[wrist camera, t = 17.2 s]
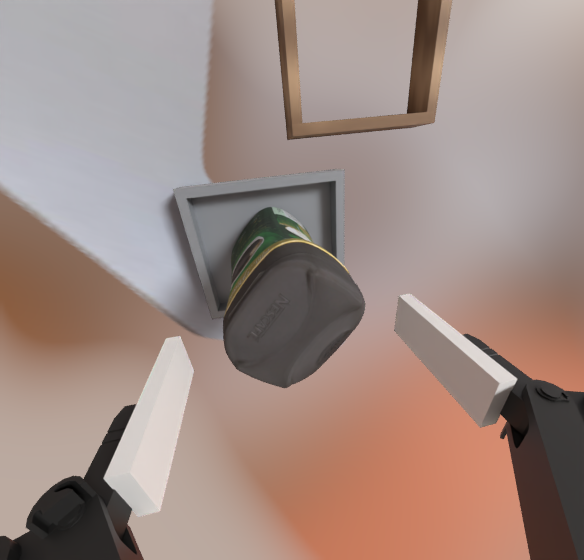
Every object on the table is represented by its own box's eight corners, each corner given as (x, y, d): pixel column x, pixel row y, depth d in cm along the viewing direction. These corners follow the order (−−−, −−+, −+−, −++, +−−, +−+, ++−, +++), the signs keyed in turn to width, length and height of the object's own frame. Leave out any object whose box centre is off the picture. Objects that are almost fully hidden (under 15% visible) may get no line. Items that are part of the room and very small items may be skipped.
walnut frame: (268, -72, 19) (272, -117, 16) (435, -72, 21) (468, -112, 18) (287, 139, 26) (293, 136, 23) (413, 127, 28) (434, 122, 25)
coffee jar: (273, 289, 33) (302, 413, 17) (222, 259, 30) (194, 375, 14) (317, 232, 31) (400, 311, 14) (265, 193, 27) (296, 237, 11)
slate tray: (179, 187, 26) (172, 189, 24) (335, 169, 28) (344, 169, 26) (214, 307, 34) (212, 319, 31) (337, 286, 36) (344, 295, 33)
